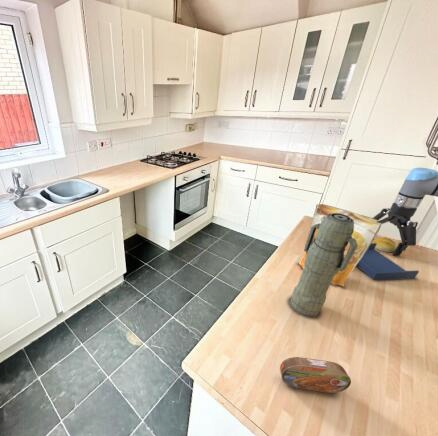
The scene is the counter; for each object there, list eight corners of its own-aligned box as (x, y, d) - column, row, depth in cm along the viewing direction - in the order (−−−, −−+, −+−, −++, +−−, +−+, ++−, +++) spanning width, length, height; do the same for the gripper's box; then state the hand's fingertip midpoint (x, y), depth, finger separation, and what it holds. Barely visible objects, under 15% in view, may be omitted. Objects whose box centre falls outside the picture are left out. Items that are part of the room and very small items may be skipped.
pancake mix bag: (300, 258, 106) (321, 200, 92) (352, 284, 92) (385, 219, 78) (292, 264, 103) (312, 205, 89) (344, 291, 89) (377, 226, 75)
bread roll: (369, 247, 112) (372, 240, 110) (374, 240, 117) (377, 233, 115) (392, 255, 106) (396, 248, 105) (397, 247, 111) (401, 240, 109)
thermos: (315, 325, 77) (359, 230, 60) (280, 300, 86) (310, 213, 69) (329, 312, 81) (374, 221, 64) (294, 290, 90) (325, 205, 73)
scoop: (372, 249, 111) (375, 243, 109) (414, 278, 94) (419, 271, 92) (317, 251, 110) (320, 245, 109) (350, 281, 93) (353, 274, 92)
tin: (278, 385, 62) (286, 365, 58) (275, 372, 64) (282, 353, 60) (344, 396, 59) (358, 376, 55) (338, 382, 62) (350, 363, 58)
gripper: (371, 193, 113) (353, 232, 123) (427, 219, 91) (399, 263, 101) (387, 193, 113) (367, 231, 123) (447, 219, 91) (417, 263, 101)
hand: (382, 246), depth 112 cm, fingers open, 13 cm apart
